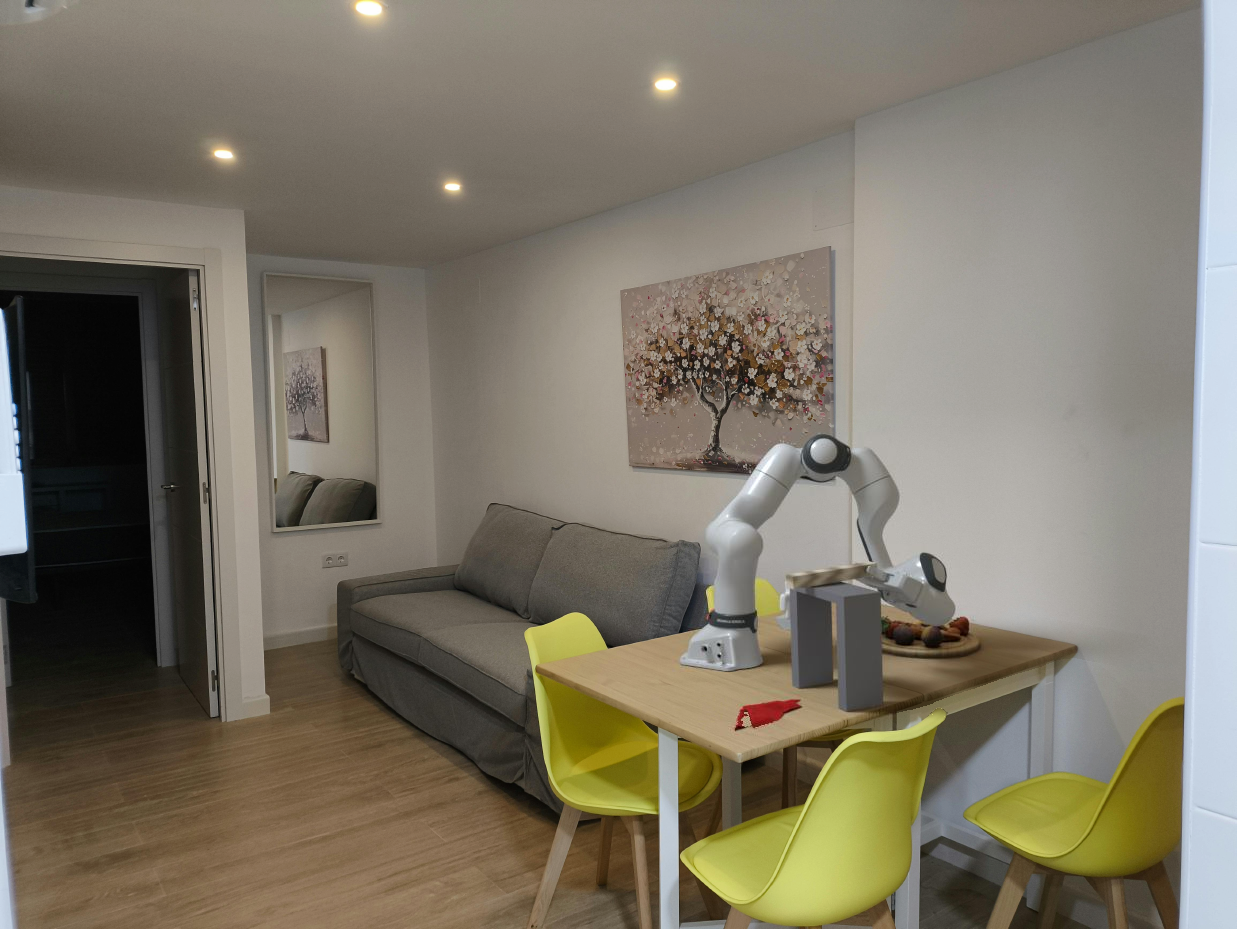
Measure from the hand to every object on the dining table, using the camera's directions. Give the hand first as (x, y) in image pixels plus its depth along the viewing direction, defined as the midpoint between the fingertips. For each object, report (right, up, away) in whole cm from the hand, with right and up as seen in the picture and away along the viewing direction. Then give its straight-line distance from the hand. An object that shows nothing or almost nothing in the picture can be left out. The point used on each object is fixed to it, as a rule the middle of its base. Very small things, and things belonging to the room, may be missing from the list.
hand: (860, 567), depth 209 cm
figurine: (-5, -27, +60) cm, 66 cm away
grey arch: (-7, -30, -5) cm, 31 cm away
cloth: (-26, -32, -16) cm, 44 cm away
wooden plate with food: (+28, -27, +37) cm, 54 cm away
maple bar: (-8, -3, -3) cm, 9 cm away
